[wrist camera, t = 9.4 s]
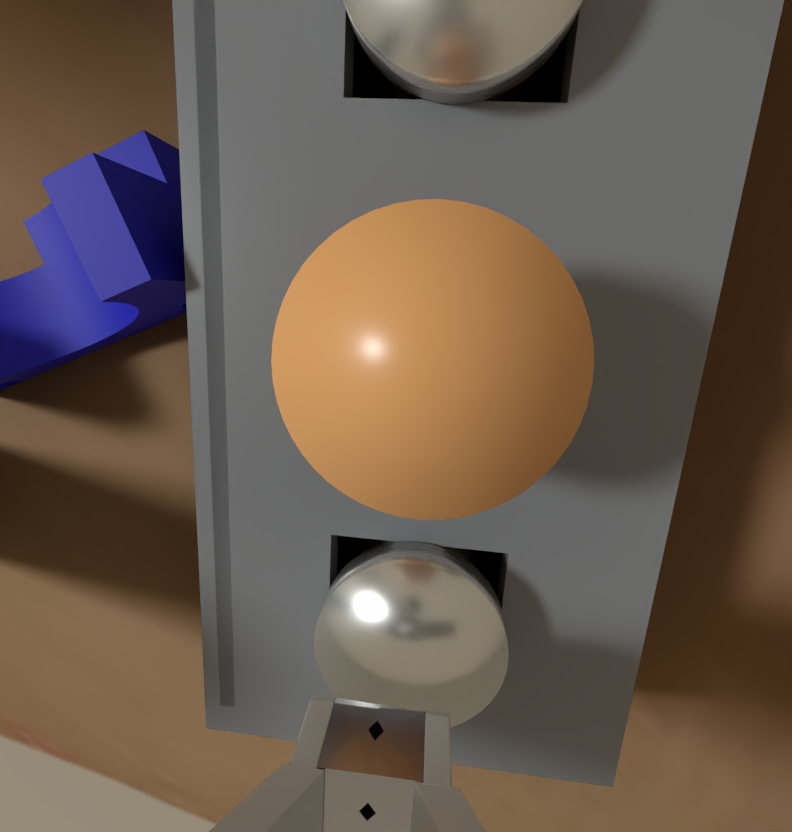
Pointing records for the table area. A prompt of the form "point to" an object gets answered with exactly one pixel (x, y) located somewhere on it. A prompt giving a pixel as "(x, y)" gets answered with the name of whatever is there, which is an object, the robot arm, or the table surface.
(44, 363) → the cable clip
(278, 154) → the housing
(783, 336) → the table surface
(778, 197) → the table surface
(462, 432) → the orange knob
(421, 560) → the far knob
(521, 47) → the near knob
